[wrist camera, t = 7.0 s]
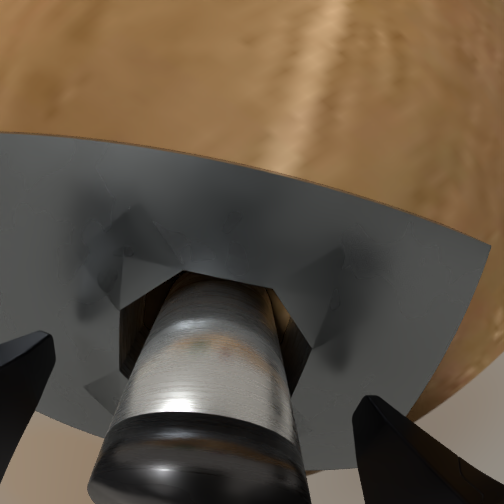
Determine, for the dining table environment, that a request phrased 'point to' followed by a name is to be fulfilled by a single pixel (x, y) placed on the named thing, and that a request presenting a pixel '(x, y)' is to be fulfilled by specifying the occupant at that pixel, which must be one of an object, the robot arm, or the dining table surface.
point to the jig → (223, 275)
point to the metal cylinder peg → (205, 407)
